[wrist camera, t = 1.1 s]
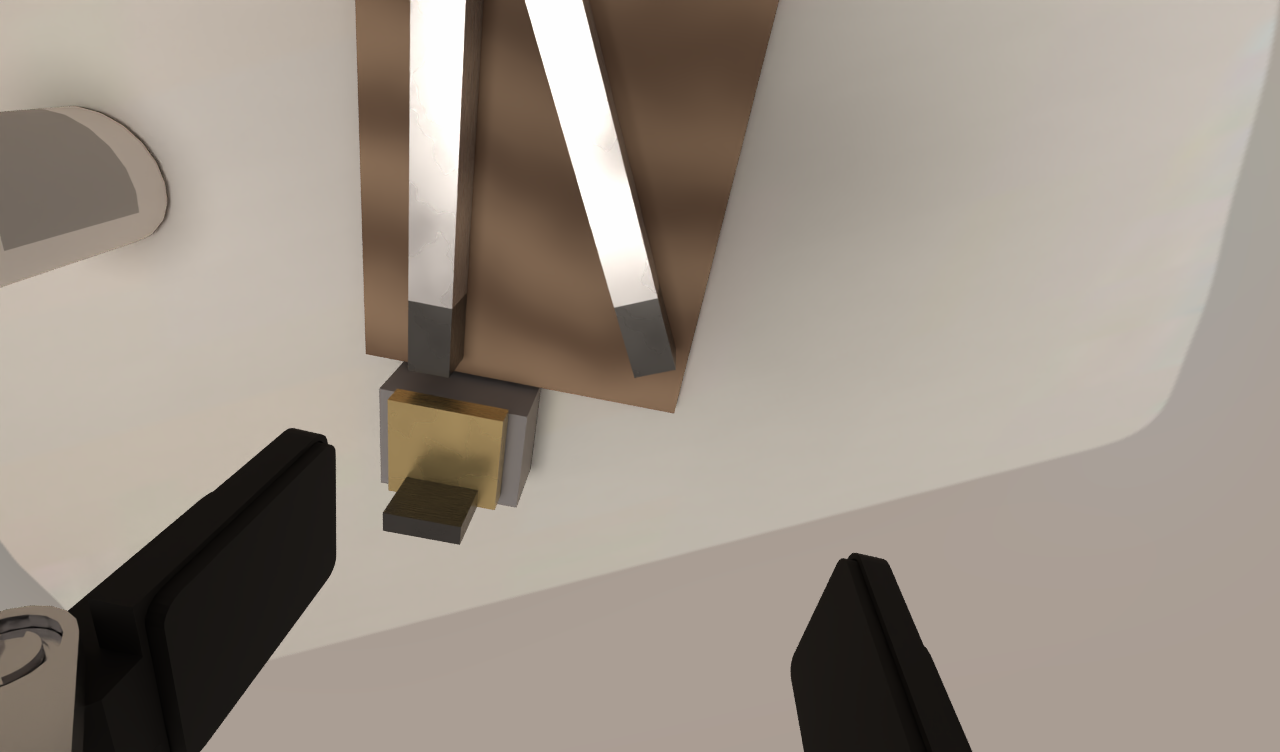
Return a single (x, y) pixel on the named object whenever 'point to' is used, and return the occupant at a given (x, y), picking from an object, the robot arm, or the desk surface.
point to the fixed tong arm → (441, 177)
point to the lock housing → (479, 391)
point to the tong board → (564, 186)
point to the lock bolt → (441, 464)
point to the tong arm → (604, 177)
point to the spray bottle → (71, 189)
